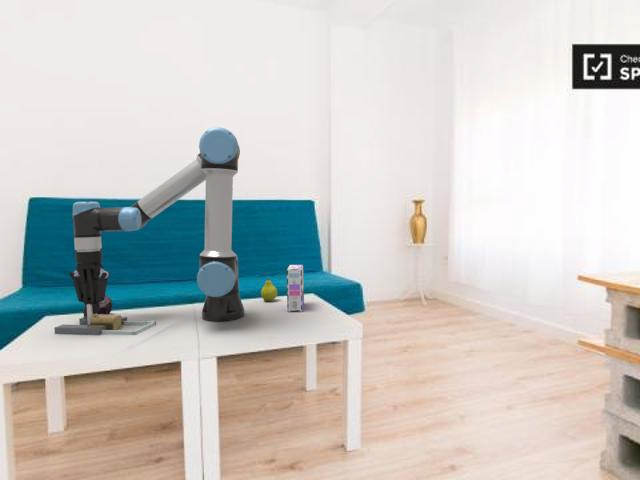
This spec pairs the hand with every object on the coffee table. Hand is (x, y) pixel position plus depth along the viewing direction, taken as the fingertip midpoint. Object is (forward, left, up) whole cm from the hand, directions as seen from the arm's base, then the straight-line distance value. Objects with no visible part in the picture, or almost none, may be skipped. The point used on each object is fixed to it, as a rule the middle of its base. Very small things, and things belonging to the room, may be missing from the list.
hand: (92, 323), depth 133 cm
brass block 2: (-7, 0, -2) cm, 7 cm away
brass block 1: (-3, 0, -2) cm, 3 cm away
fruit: (-44, -51, -3) cm, 67 cm away
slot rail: (0, 0, -3) cm, 3 cm away
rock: (+9, -15, -3) cm, 18 cm away
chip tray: (-13, 0, -3) cm, 13 cm away
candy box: (-58, -39, -3) cm, 70 cm away
